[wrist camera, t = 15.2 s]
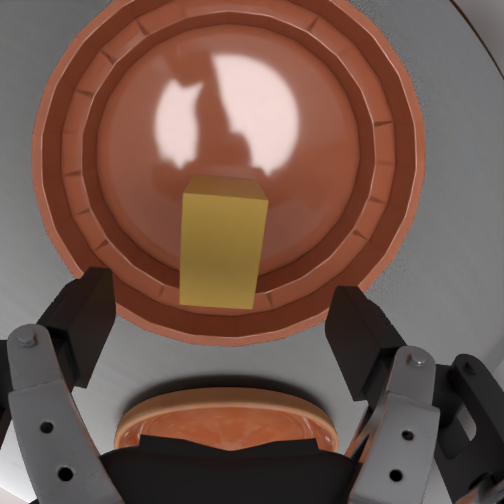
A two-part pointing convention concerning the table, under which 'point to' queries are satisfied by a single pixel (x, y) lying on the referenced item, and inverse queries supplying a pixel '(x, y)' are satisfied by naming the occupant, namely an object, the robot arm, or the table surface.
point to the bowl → (229, 153)
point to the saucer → (227, 419)
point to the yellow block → (221, 241)
